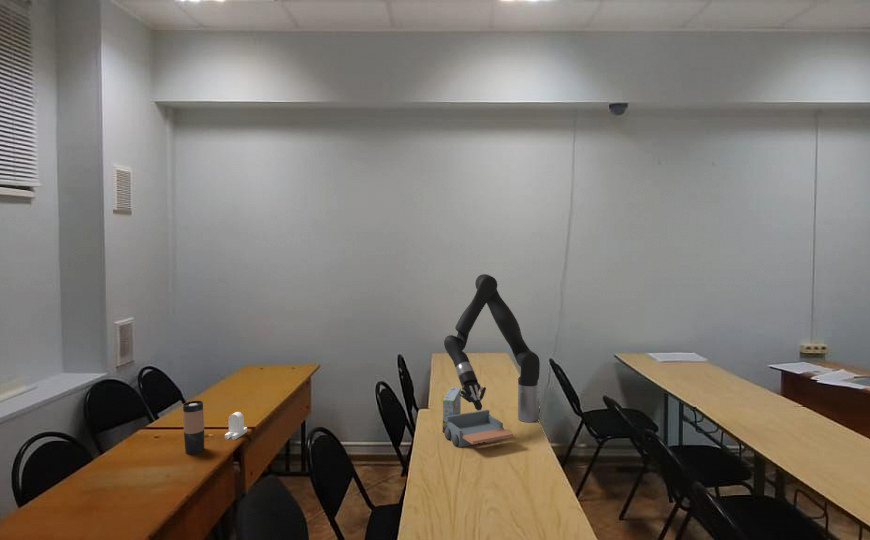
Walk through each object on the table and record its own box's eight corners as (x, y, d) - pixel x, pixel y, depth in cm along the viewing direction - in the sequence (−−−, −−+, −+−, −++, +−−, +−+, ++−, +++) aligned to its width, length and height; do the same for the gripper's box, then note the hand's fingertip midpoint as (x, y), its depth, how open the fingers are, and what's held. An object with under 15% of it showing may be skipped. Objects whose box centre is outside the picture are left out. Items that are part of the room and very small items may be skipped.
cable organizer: (247, 431, 235) (247, 409, 235) (235, 439, 226) (234, 417, 225) (237, 430, 236) (236, 409, 236) (224, 439, 227) (223, 416, 226)
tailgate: (502, 428, 222) (513, 433, 214) (502, 432, 222) (513, 438, 214) (462, 435, 215) (472, 441, 207) (462, 439, 215) (472, 446, 207)
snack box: (454, 433, 231) (454, 400, 230) (442, 432, 232) (441, 399, 231) (461, 417, 252) (461, 386, 251) (450, 416, 253) (449, 386, 252)
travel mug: (209, 448, 217) (207, 401, 215) (195, 455, 210) (193, 407, 208) (194, 445, 219) (192, 399, 218) (180, 453, 212) (178, 405, 211)
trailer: (490, 428, 236) (490, 409, 236) (505, 438, 225) (505, 418, 224) (444, 436, 227) (443, 416, 227) (456, 447, 215) (456, 426, 215)
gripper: (455, 371, 226) (468, 407, 215) (482, 368, 231) (496, 403, 221) (450, 380, 231) (463, 416, 221) (476, 376, 236) (490, 411, 226)
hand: (479, 409), depth 221 cm, fingers closed
